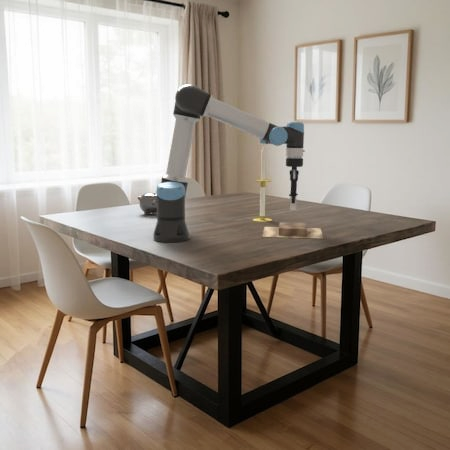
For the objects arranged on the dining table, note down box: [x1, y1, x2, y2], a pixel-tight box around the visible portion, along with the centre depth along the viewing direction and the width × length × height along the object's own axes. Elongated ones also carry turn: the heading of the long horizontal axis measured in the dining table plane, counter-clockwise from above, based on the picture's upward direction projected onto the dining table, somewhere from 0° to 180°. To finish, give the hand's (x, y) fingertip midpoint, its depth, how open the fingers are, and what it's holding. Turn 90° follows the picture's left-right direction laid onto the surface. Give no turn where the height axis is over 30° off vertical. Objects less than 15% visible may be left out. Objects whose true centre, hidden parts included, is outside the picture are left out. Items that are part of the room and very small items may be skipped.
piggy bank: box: [137, 192, 157, 217], centre depth 287 cm, size 11×15×12 cm
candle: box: [252, 145, 273, 223], centre depth 269 cm, size 10×10×38 cm
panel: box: [278, 222, 308, 236], centre depth 241 cm, size 12×3×14 cm
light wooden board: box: [261, 226, 324, 240], centre depth 242 cm, size 26×22×1 cm
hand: (292, 210), depth 244 cm, fingers closed
